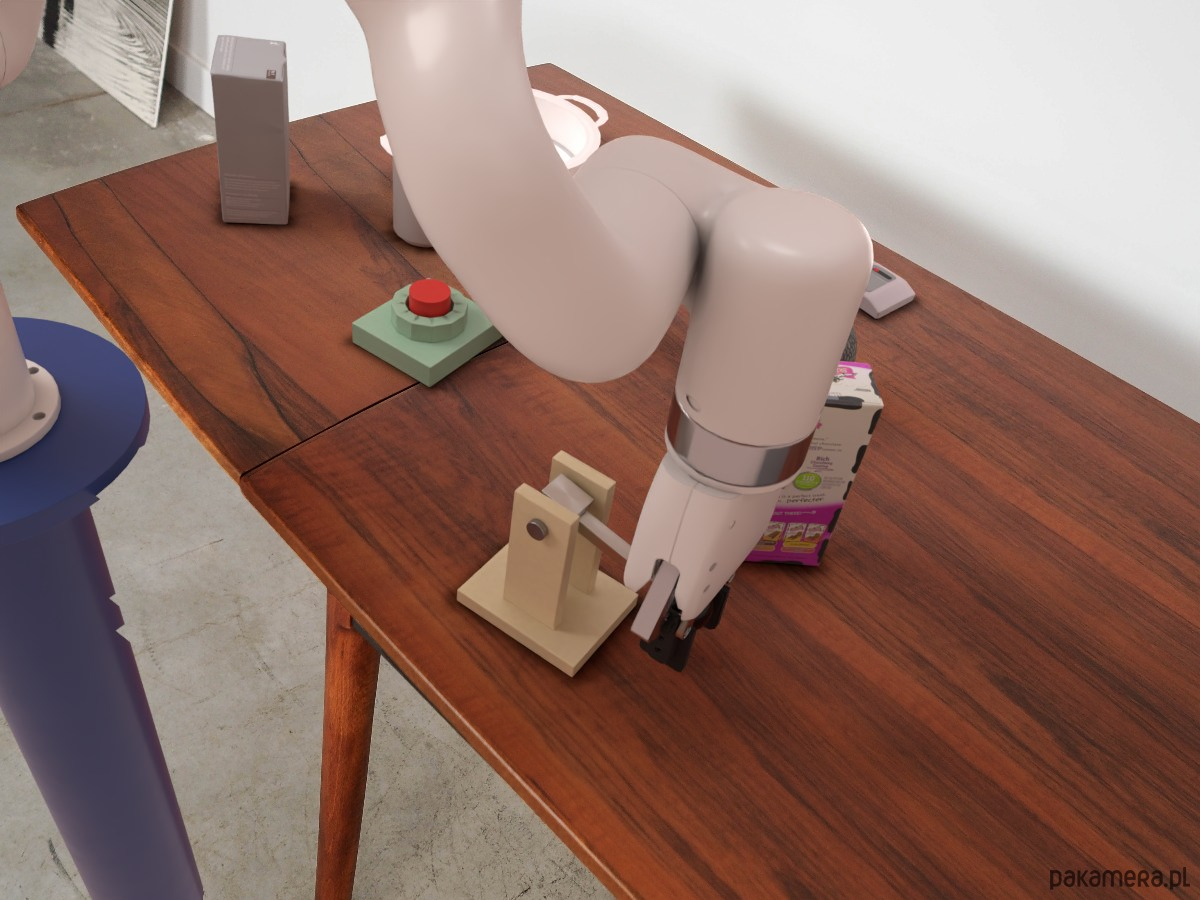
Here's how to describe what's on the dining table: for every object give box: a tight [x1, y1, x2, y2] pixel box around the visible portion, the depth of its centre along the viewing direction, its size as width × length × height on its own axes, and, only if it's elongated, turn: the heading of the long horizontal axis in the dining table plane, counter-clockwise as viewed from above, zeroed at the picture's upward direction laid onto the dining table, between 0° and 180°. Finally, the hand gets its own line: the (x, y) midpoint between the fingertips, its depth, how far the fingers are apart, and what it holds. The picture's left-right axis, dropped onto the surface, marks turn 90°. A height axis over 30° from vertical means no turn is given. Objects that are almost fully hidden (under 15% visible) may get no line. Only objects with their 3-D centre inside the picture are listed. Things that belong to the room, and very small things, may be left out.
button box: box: [351, 277, 503, 388], centre depth 91 cm, size 10×9×4 cm
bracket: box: [456, 449, 639, 678], centre depth 68 cm, size 10×8×12 cm
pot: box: [379, 88, 610, 176], centre depth 115 cm, size 29×22×5 cm
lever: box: [540, 473, 713, 631], centre depth 64 cm, size 13×3×3 cm, turn 56°
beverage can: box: [392, 158, 434, 248], centre depth 101 cm, size 6×6×12 cm
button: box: [409, 278, 451, 318], centre depth 89 cm, size 4×4×2 cm
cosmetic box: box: [209, 34, 291, 225], centre depth 99 cm, size 8×7×16 cm
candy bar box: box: [743, 361, 885, 567], centre depth 74 cm, size 11×5×16 cm, turn 91°
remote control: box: [859, 260, 916, 320], centre depth 108 cm, size 7×16×3 cm, turn 42°
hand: (679, 635), depth 65 cm, fingers closed on lever, 3 cm apart
